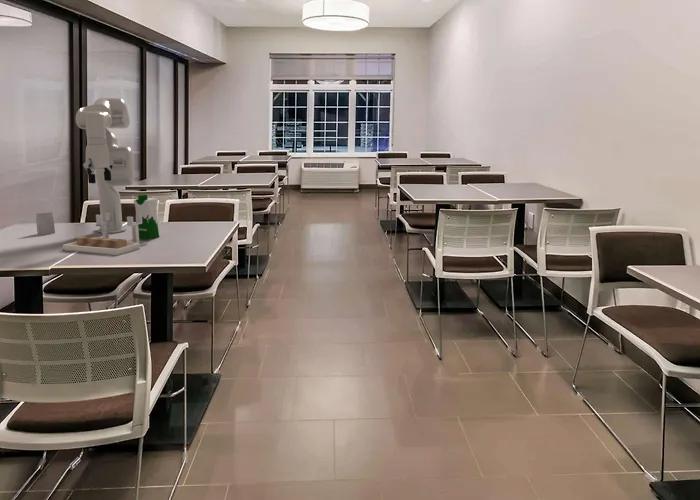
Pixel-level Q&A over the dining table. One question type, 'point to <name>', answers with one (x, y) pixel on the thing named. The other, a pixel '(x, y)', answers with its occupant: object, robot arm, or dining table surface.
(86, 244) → the walnut rail
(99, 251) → the off-white tray
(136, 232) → the steel stand
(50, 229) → the grey block
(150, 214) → the milk carton
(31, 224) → the dining table surface
